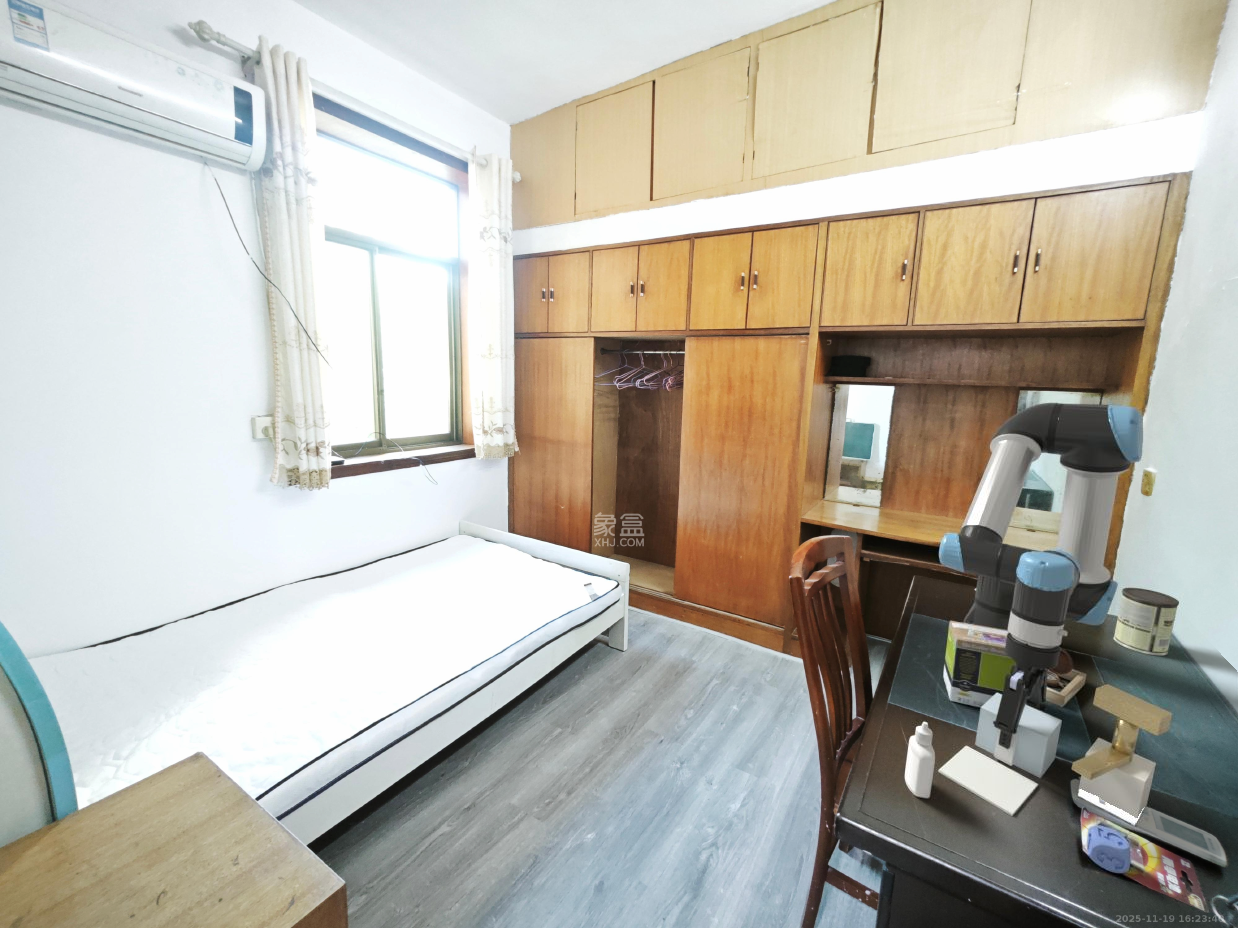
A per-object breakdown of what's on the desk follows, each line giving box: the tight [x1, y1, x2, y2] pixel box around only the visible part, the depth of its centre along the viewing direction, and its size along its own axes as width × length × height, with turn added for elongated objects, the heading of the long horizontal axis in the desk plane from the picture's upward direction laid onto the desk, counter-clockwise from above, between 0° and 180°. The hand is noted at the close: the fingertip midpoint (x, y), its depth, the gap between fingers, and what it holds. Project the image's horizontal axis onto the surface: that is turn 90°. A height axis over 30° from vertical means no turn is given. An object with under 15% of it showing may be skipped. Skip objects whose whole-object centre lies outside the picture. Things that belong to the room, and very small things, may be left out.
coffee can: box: [1113, 587, 1180, 657], centre depth 134 cm, size 10×10×14 cm
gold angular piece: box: [1071, 683, 1173, 780], centre depth 80 cm, size 13×8×10 cm, turn 112°
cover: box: [974, 693, 1063, 779], centre depth 95 cm, size 10×8×8 cm
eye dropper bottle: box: [904, 721, 936, 799], centre depth 86 cm, size 4×6×12 cm
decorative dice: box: [1086, 825, 1132, 874], centre depth 74 cm, size 4×4×4 cm
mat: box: [937, 745, 1039, 817], centre depth 89 cm, size 11×11×1 cm
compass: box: [1047, 647, 1074, 689], centre depth 118 cm, size 8×8×7 cm
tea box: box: [943, 620, 1027, 709], centre depth 110 cm, size 15×10×15 cm
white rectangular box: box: [1078, 737, 1157, 818], centre depth 84 cm, size 7×7×8 cm
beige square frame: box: [1046, 668, 1087, 708], centre depth 119 cm, size 15×15×2 cm
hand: (1014, 749), depth 95 cm, fingers open, 10 cm apart
